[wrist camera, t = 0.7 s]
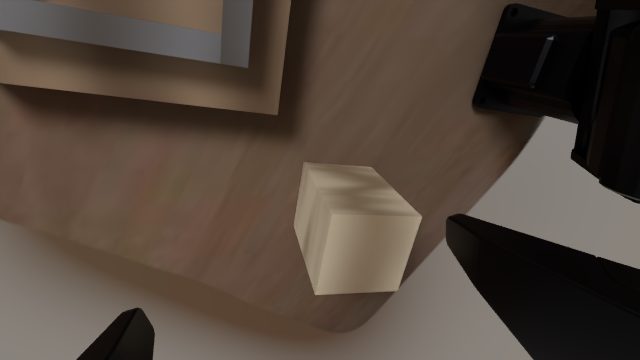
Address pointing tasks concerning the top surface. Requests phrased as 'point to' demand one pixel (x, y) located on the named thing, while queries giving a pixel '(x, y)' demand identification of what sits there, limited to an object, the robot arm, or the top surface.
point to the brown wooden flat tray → (150, 49)
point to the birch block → (353, 229)
